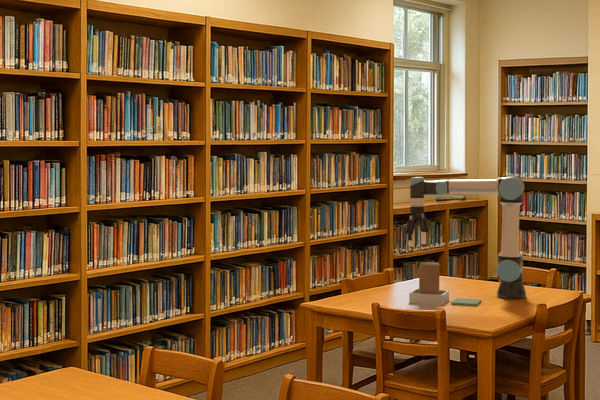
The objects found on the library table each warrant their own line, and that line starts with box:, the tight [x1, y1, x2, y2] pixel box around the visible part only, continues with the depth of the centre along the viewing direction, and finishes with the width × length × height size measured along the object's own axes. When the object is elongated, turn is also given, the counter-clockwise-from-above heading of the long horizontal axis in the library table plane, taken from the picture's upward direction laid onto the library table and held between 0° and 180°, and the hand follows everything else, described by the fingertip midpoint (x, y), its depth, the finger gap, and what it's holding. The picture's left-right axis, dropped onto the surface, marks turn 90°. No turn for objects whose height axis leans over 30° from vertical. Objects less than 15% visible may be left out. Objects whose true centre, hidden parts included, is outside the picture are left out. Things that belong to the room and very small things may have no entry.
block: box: [418, 261, 440, 295], centre depth 431 cm, size 10×10×20 cm
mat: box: [450, 297, 482, 307], centre depth 426 cm, size 13×13×1 cm
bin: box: [408, 288, 450, 306], centre depth 432 cm, size 18×15×5 cm
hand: (417, 245), depth 446 cm, fingers open, 13 cm apart
